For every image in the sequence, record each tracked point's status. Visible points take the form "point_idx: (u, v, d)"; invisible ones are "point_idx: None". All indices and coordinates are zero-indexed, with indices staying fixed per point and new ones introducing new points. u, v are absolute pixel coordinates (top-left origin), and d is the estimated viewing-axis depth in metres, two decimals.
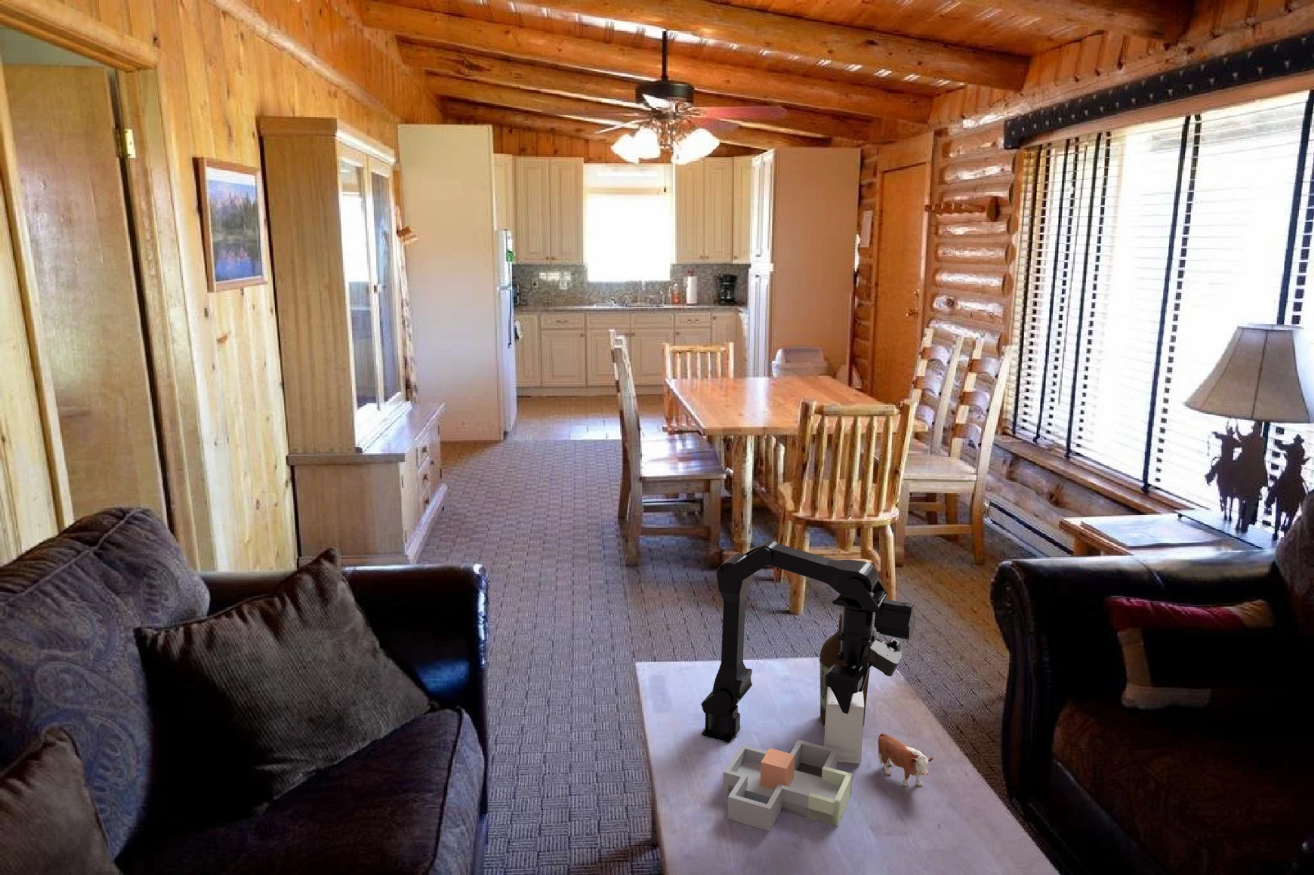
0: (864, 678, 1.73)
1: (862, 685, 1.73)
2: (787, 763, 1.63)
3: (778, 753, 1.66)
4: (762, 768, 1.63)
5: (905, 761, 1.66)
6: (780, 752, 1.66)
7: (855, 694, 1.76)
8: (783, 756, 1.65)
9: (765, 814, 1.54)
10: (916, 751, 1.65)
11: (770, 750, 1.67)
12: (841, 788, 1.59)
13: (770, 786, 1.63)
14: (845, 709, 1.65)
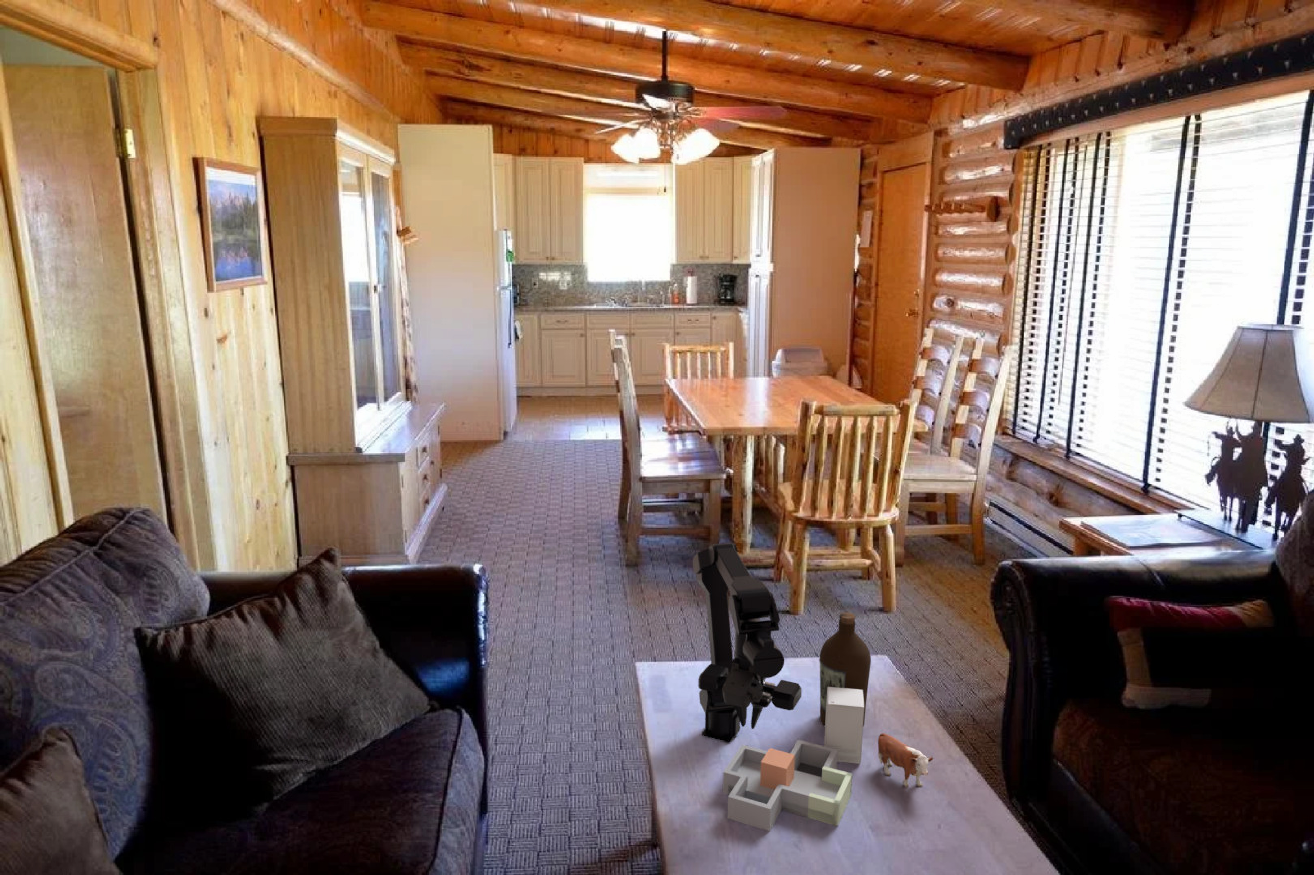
0: (752, 715, 1.64)
1: (751, 721, 1.65)
2: (787, 763, 1.63)
3: (778, 753, 1.66)
4: (762, 768, 1.63)
5: (905, 761, 1.66)
6: (780, 752, 1.66)
7: (855, 694, 1.76)
8: (783, 756, 1.65)
9: (765, 814, 1.54)
10: (916, 751, 1.65)
11: (770, 750, 1.67)
12: (841, 788, 1.59)
13: (770, 786, 1.63)
14: None
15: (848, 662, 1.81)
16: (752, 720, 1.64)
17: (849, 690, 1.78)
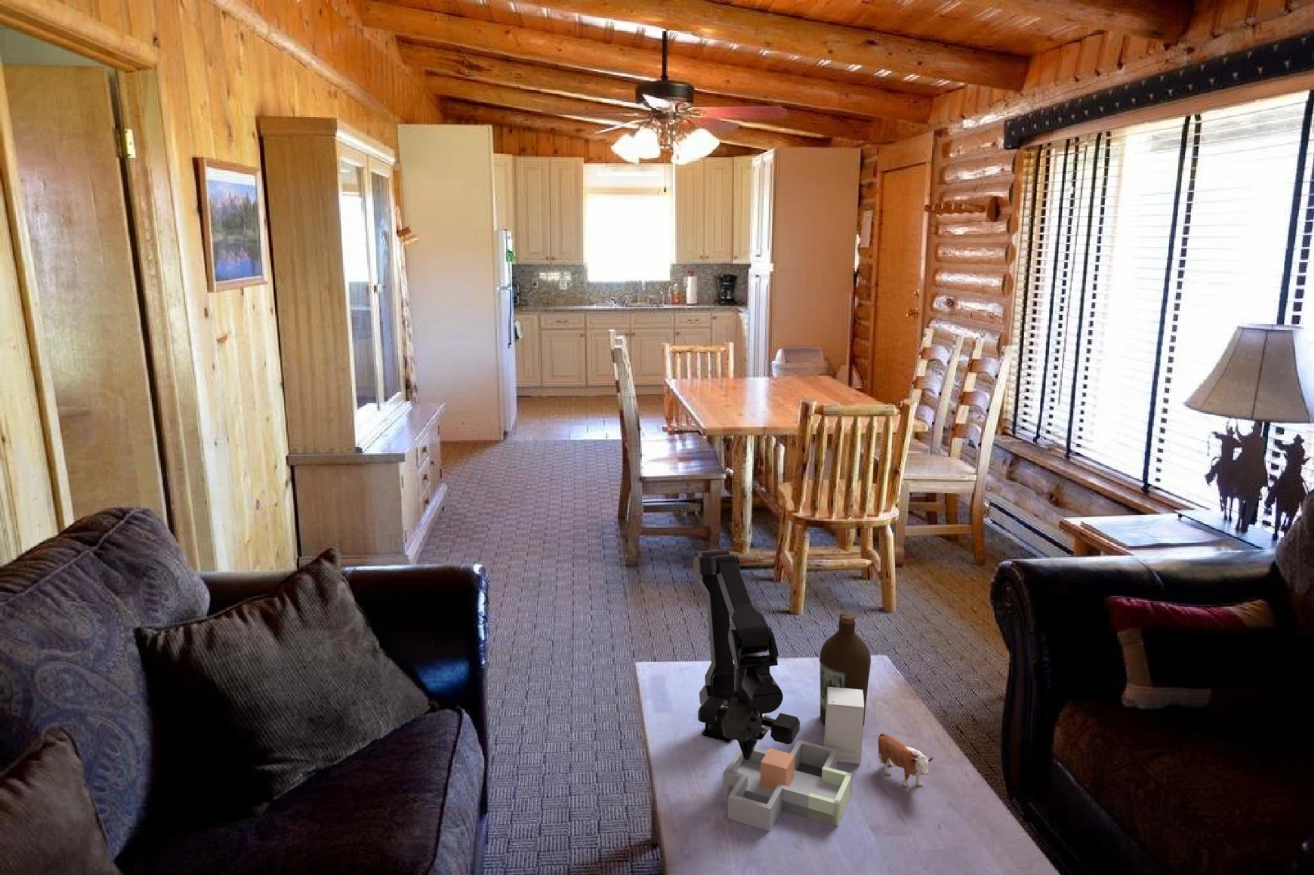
0: (747, 747, 1.66)
1: (746, 753, 1.67)
2: (787, 763, 1.63)
3: (778, 753, 1.66)
4: (762, 768, 1.63)
5: (905, 761, 1.66)
6: (780, 752, 1.66)
7: (855, 694, 1.76)
8: (783, 756, 1.65)
9: (765, 814, 1.54)
10: (916, 751, 1.65)
11: (770, 750, 1.67)
12: (841, 788, 1.59)
13: (770, 786, 1.63)
14: None
15: (848, 662, 1.81)
16: (747, 751, 1.66)
17: (849, 690, 1.78)
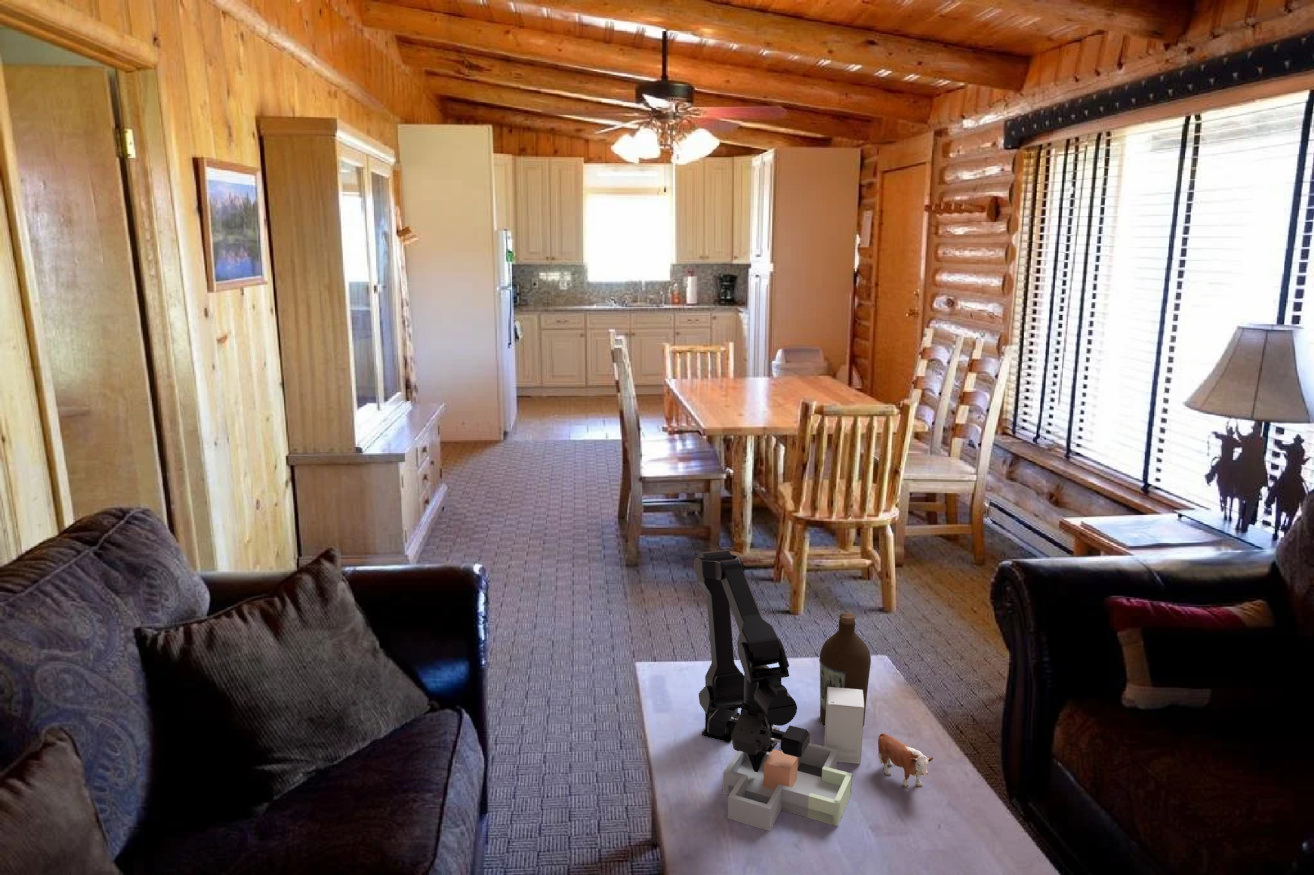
0: (756, 759, 1.65)
1: None
2: (790, 764, 1.62)
3: (781, 754, 1.65)
4: (765, 769, 1.63)
5: (905, 761, 1.66)
6: (783, 753, 1.66)
7: (855, 694, 1.76)
8: (786, 757, 1.65)
9: (765, 814, 1.54)
10: (916, 751, 1.65)
11: (773, 751, 1.67)
12: (841, 788, 1.59)
13: (773, 787, 1.63)
14: None
15: (848, 662, 1.81)
16: (756, 764, 1.65)
17: (849, 690, 1.78)
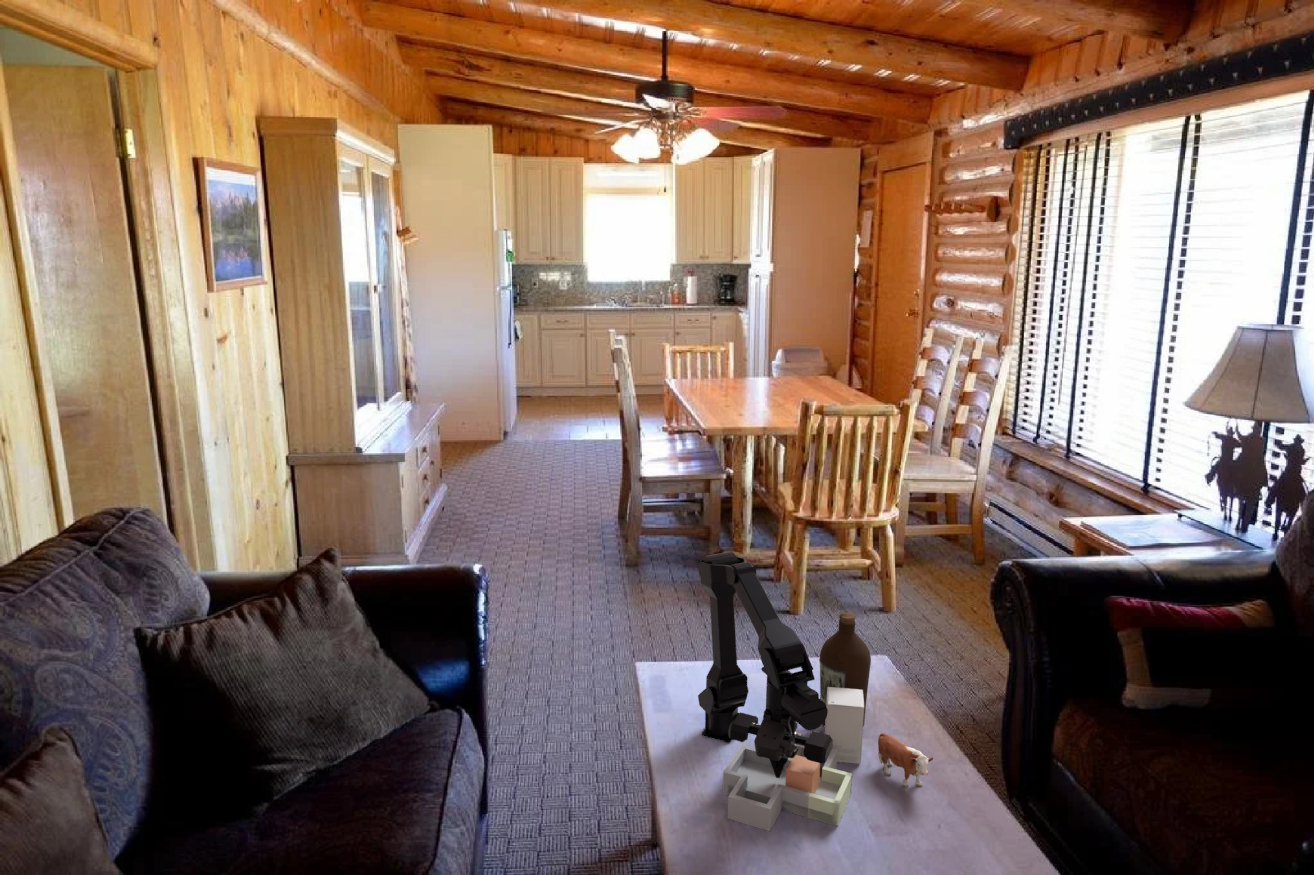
0: (778, 765, 1.64)
1: (777, 771, 1.64)
2: (812, 770, 1.61)
3: (803, 760, 1.64)
4: (787, 775, 1.61)
5: (905, 761, 1.66)
6: (805, 759, 1.64)
7: (855, 694, 1.76)
8: (808, 763, 1.63)
9: (765, 814, 1.54)
10: (916, 751, 1.65)
11: (795, 756, 1.65)
12: (841, 788, 1.59)
13: None
14: None
15: (848, 662, 1.81)
16: (778, 770, 1.64)
17: (849, 690, 1.78)
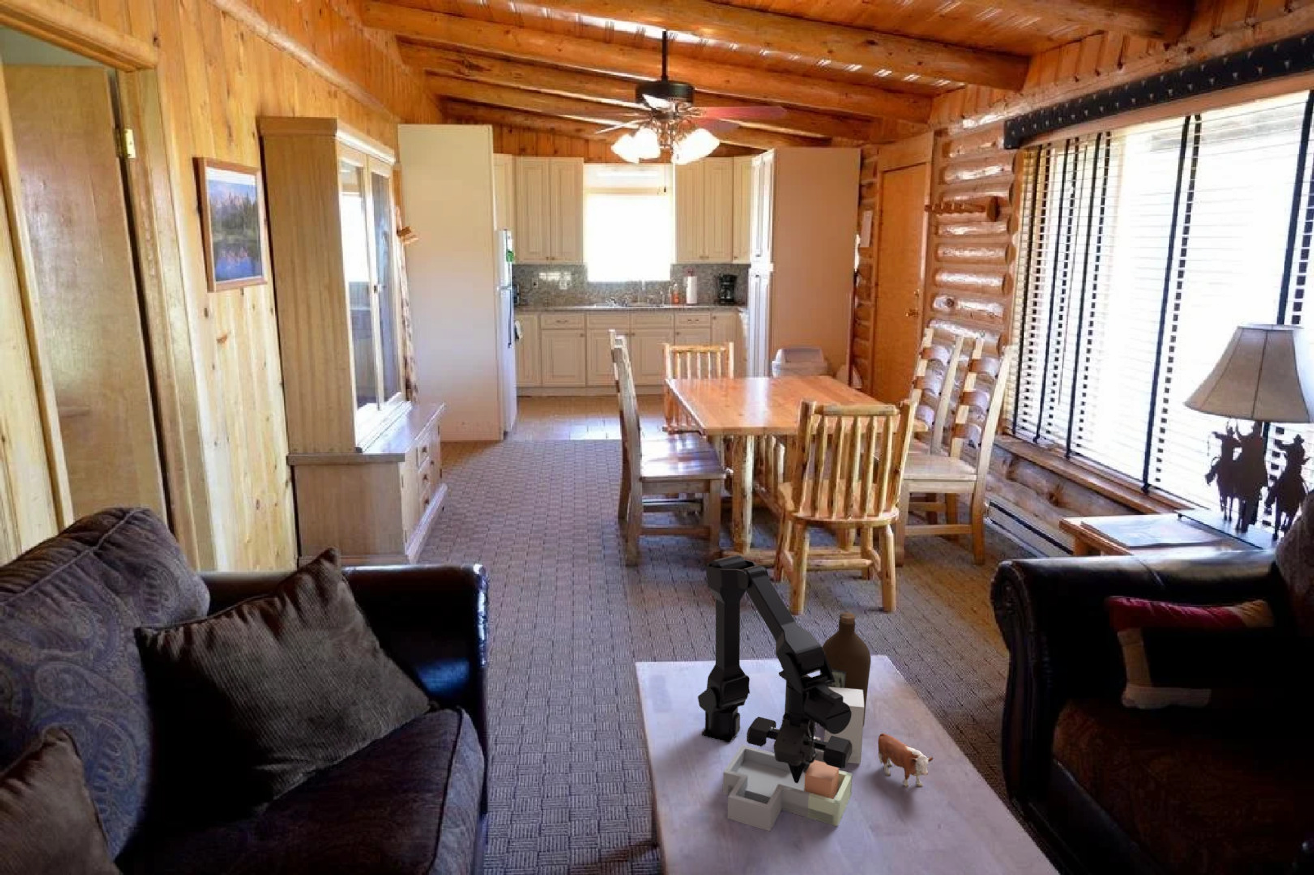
0: (796, 770, 1.62)
1: (795, 776, 1.63)
2: (831, 775, 1.59)
3: (822, 765, 1.62)
4: (806, 780, 1.60)
5: (905, 761, 1.66)
6: (824, 764, 1.63)
7: (855, 694, 1.76)
8: (827, 768, 1.61)
9: (765, 814, 1.54)
10: (916, 751, 1.65)
11: None
12: (841, 788, 1.59)
13: None
14: None
15: (848, 662, 1.81)
16: (797, 774, 1.62)
17: (849, 690, 1.78)
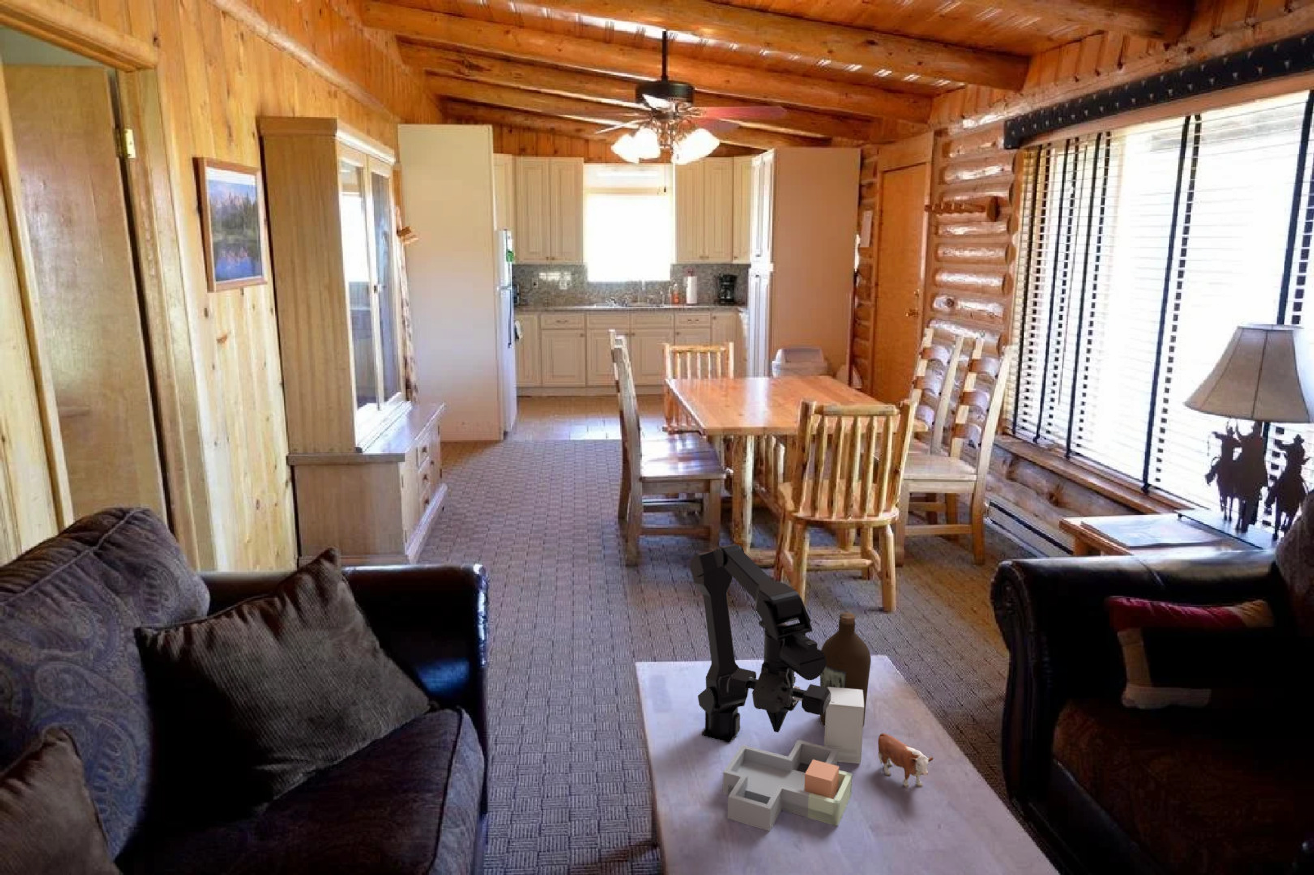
0: (777, 719, 1.64)
1: None
2: (831, 775, 1.59)
3: (822, 765, 1.62)
4: (806, 780, 1.60)
5: (905, 761, 1.66)
6: (824, 763, 1.63)
7: (855, 694, 1.76)
8: (827, 768, 1.61)
9: (765, 814, 1.54)
10: (916, 751, 1.65)
11: (813, 761, 1.63)
12: (841, 788, 1.59)
13: None
14: None
15: (848, 662, 1.81)
16: (777, 724, 1.64)
17: (849, 690, 1.78)
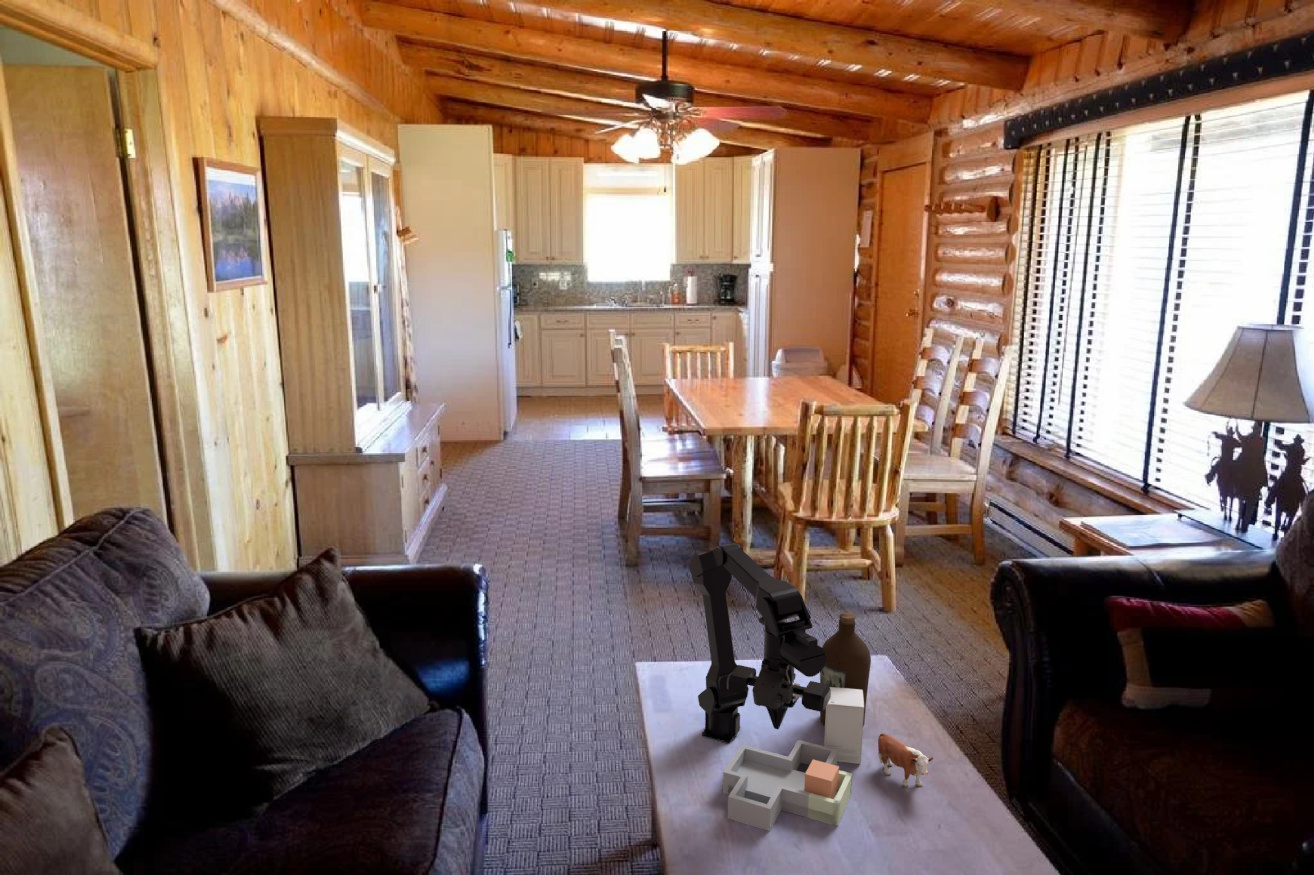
0: (777, 716, 1.64)
1: (776, 722, 1.64)
2: (831, 775, 1.59)
3: (822, 765, 1.62)
4: (806, 780, 1.60)
5: (905, 761, 1.66)
6: (824, 763, 1.63)
7: (855, 694, 1.76)
8: (827, 768, 1.61)
9: (765, 814, 1.54)
10: (916, 751, 1.65)
11: (813, 761, 1.63)
12: (841, 788, 1.59)
13: None
14: None
15: (848, 662, 1.81)
16: (777, 720, 1.64)
17: (849, 690, 1.78)
